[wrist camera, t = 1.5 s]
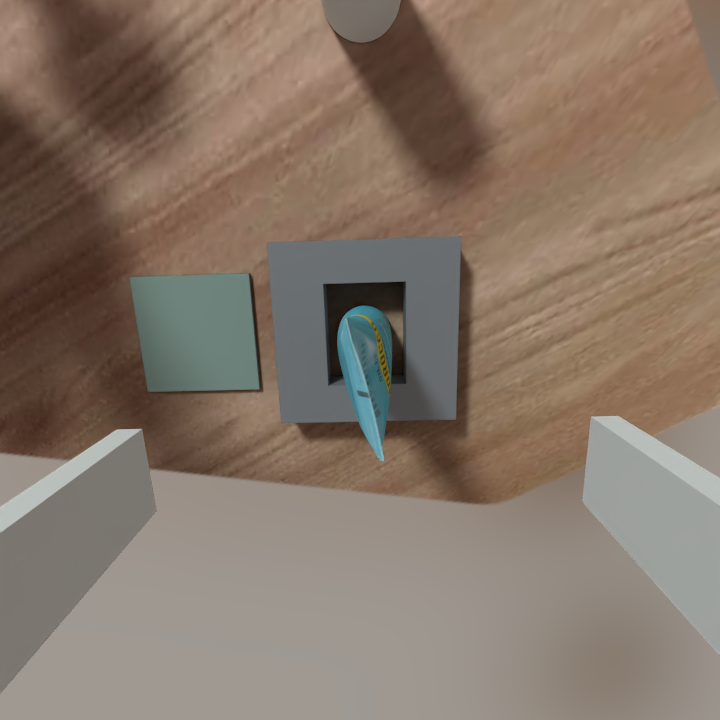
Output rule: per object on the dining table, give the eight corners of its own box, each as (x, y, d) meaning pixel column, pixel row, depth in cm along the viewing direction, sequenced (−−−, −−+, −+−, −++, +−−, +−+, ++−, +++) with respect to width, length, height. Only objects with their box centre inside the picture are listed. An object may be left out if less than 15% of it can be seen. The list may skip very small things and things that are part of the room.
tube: (401, 358, 39) (432, 448, 20) (353, 374, 39) (339, 476, 20) (376, 283, 37) (384, 305, 18) (327, 300, 37) (286, 339, 19)
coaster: (149, 390, 40) (147, 391, 39) (131, 276, 37) (129, 277, 37) (260, 388, 40) (259, 389, 39) (249, 273, 37) (248, 273, 37)
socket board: (287, 411, 40) (281, 423, 37) (274, 244, 36) (266, 242, 33) (449, 408, 40) (455, 419, 37) (453, 238, 36) (461, 236, 33)
